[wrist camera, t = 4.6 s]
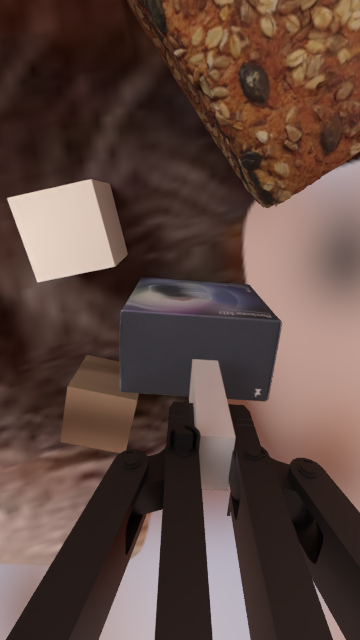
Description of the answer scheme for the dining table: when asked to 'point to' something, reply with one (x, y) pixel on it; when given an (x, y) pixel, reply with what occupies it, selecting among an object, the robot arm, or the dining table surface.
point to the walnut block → (98, 407)
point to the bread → (266, 82)
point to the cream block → (69, 229)
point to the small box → (197, 337)
